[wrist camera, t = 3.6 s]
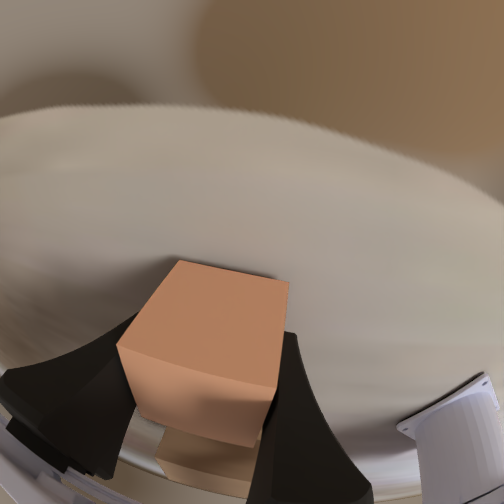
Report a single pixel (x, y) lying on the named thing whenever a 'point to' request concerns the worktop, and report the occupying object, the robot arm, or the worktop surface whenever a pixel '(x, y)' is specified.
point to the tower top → (207, 462)
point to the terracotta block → (207, 352)
